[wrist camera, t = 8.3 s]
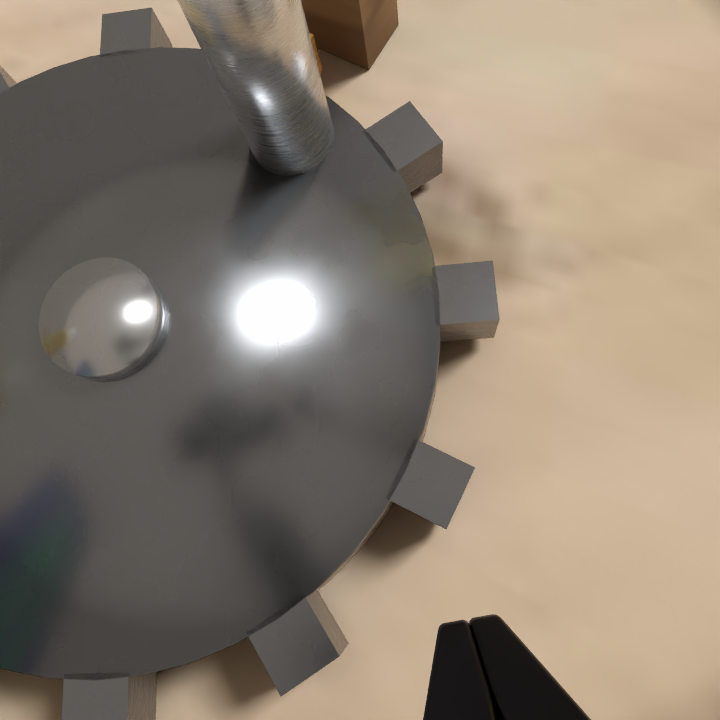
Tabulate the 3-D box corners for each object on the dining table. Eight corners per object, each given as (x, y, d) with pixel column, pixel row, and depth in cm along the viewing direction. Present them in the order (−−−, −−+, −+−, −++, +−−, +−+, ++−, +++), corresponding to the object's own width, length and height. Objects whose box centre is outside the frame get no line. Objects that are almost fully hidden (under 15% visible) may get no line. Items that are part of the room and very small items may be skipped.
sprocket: (118, 917, 19) (-421, 1586, 7) (-295, 378, 25) (-953, 247, 13) (640, 296, 22) (891, 21, 10) (152, -50, 28) (-58, -474, 16)
